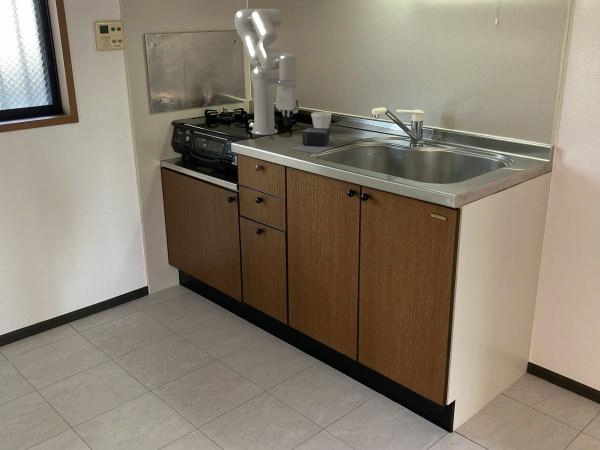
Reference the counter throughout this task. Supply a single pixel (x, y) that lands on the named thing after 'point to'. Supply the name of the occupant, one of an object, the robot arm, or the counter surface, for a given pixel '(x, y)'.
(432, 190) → the counter surface
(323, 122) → the cup
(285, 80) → the robot arm
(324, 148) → the mat
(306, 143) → the small box
